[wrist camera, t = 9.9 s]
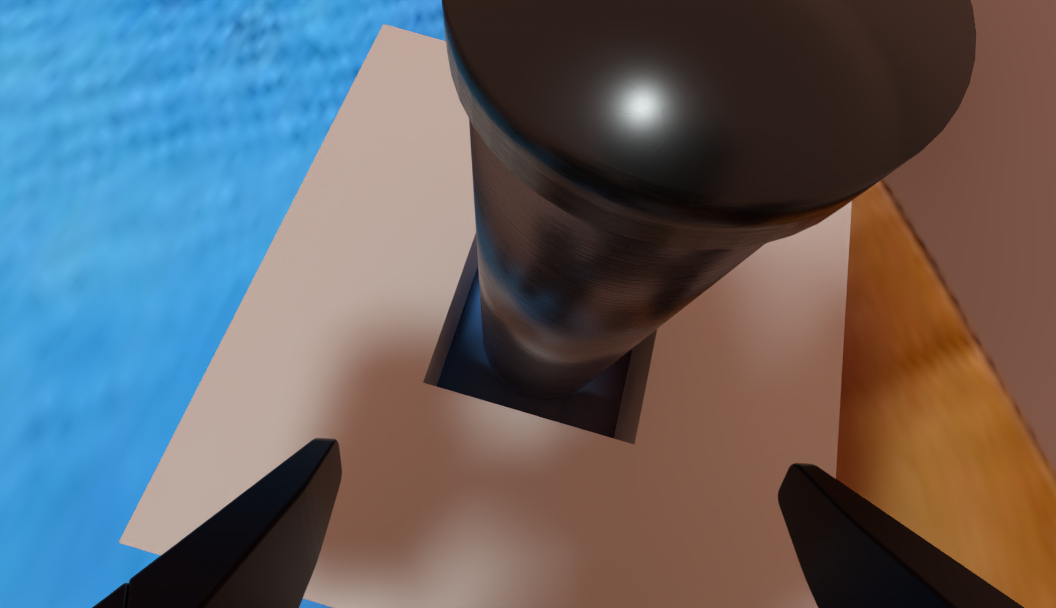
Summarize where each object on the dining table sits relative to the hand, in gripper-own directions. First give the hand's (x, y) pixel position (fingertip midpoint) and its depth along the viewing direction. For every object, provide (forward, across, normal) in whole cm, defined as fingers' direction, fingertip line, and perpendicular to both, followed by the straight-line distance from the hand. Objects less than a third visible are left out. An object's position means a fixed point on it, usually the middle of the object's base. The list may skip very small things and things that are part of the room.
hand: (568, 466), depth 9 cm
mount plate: (+10, 0, +2) cm, 10 cm away
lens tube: (+9, 0, +2) cm, 10 cm away
